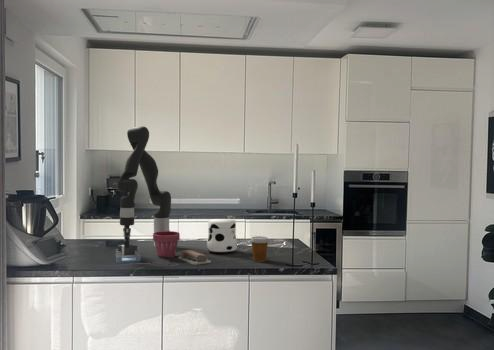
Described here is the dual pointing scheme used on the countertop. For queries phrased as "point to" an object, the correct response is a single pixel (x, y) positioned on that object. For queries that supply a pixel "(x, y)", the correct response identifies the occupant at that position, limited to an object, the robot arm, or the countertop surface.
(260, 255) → the disposable coffee cup
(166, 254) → the plant pot
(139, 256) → the white pegged board
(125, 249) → the charcoal rectangular prism
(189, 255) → the packaged product
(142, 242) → the countertop surface
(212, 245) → the milk container
